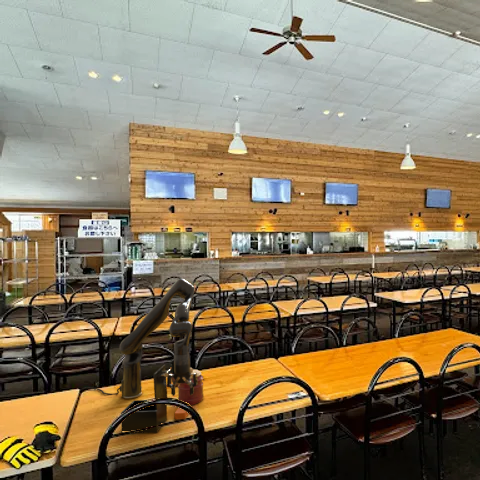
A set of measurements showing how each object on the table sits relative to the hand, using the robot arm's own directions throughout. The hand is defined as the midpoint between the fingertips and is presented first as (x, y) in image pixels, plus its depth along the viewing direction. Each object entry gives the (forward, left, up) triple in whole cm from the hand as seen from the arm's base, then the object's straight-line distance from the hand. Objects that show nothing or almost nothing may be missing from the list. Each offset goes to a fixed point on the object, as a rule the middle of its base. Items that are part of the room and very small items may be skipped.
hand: (182, 394), depth 186 cm
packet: (0, 0, -10) cm, 10 cm away
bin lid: (-7, -10, +8) cm, 15 cm away
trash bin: (-14, -10, -10) cm, 20 cm away
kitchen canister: (-1, +17, -10) cm, 20 cm away
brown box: (-11, +42, -10) cm, 45 cm away
